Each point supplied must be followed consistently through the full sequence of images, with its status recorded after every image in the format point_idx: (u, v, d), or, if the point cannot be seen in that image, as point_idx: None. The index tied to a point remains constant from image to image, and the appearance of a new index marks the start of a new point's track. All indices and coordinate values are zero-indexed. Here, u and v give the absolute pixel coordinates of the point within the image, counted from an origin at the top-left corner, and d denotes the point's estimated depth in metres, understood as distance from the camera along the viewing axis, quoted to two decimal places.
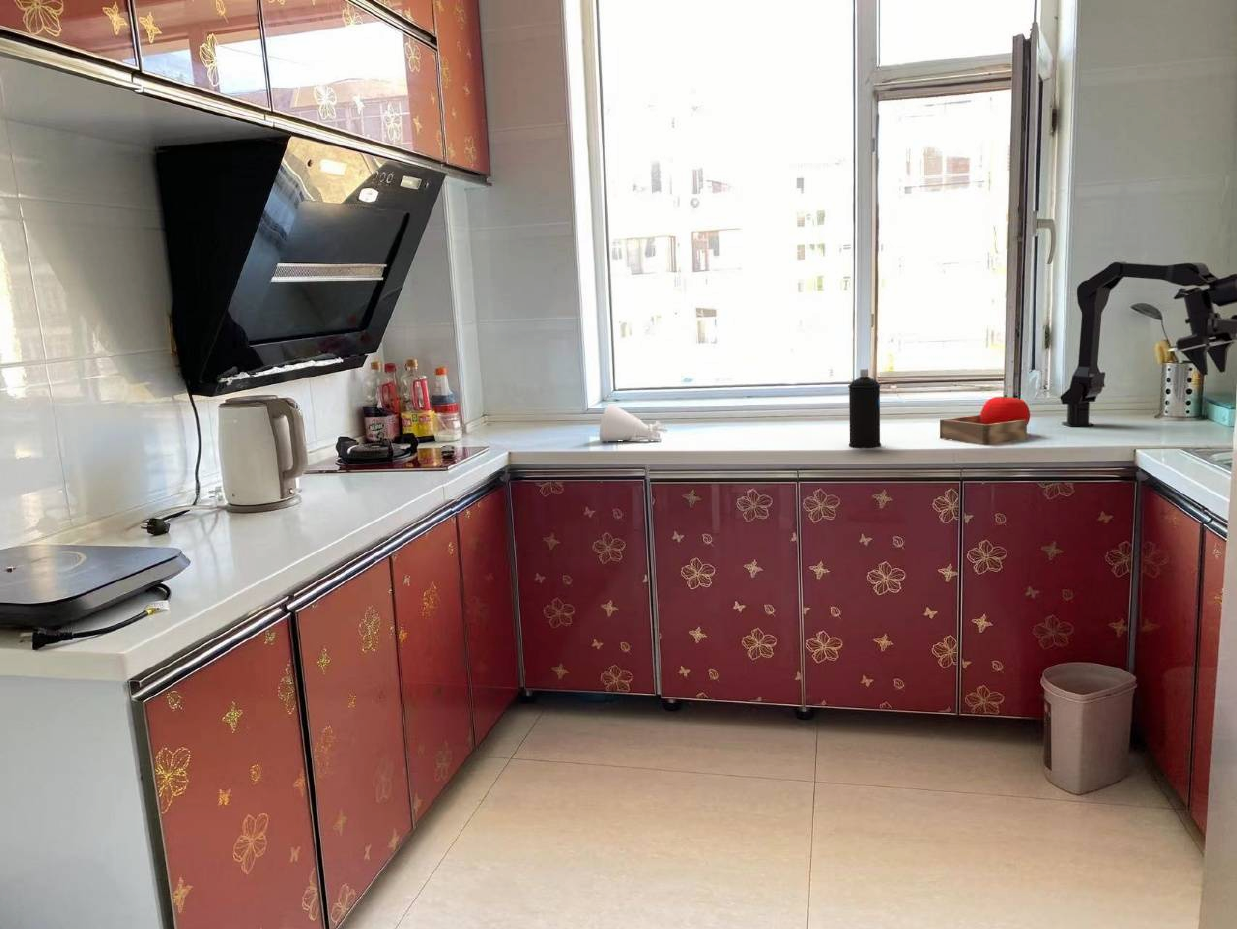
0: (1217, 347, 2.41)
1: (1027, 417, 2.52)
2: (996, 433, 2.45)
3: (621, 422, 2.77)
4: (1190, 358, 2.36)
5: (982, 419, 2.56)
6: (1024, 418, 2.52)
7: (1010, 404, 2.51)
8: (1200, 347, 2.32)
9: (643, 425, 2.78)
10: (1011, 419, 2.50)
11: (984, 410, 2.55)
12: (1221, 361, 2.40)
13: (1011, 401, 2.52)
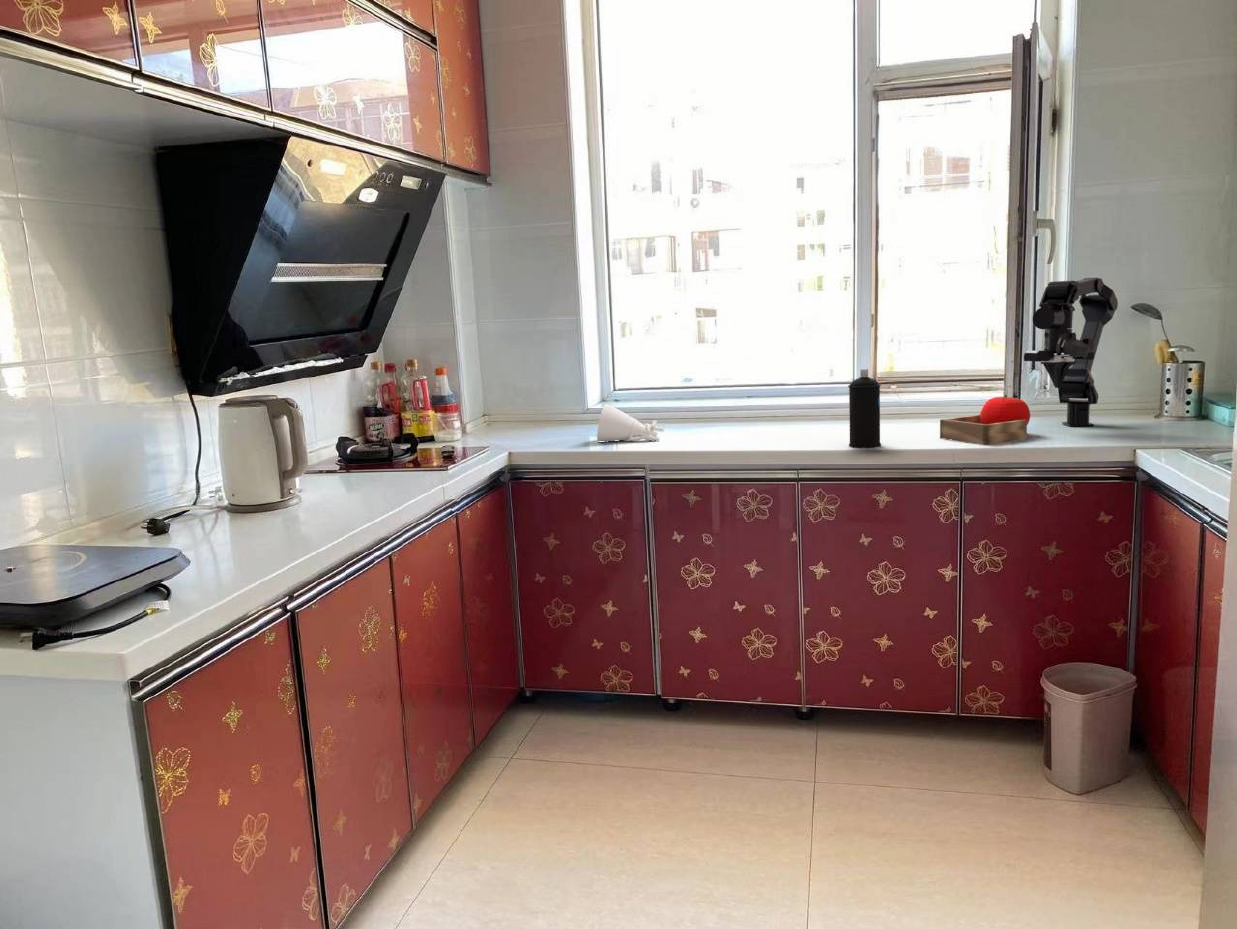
0: None
1: (1027, 417, 2.52)
2: (996, 433, 2.45)
3: (619, 422, 2.78)
4: (1047, 370, 2.58)
5: (982, 419, 2.56)
6: (1024, 418, 2.52)
7: (1010, 404, 2.51)
8: (1053, 363, 2.54)
9: (640, 425, 2.79)
10: (1011, 419, 2.50)
11: (984, 410, 2.55)
12: None
13: (1011, 401, 2.52)
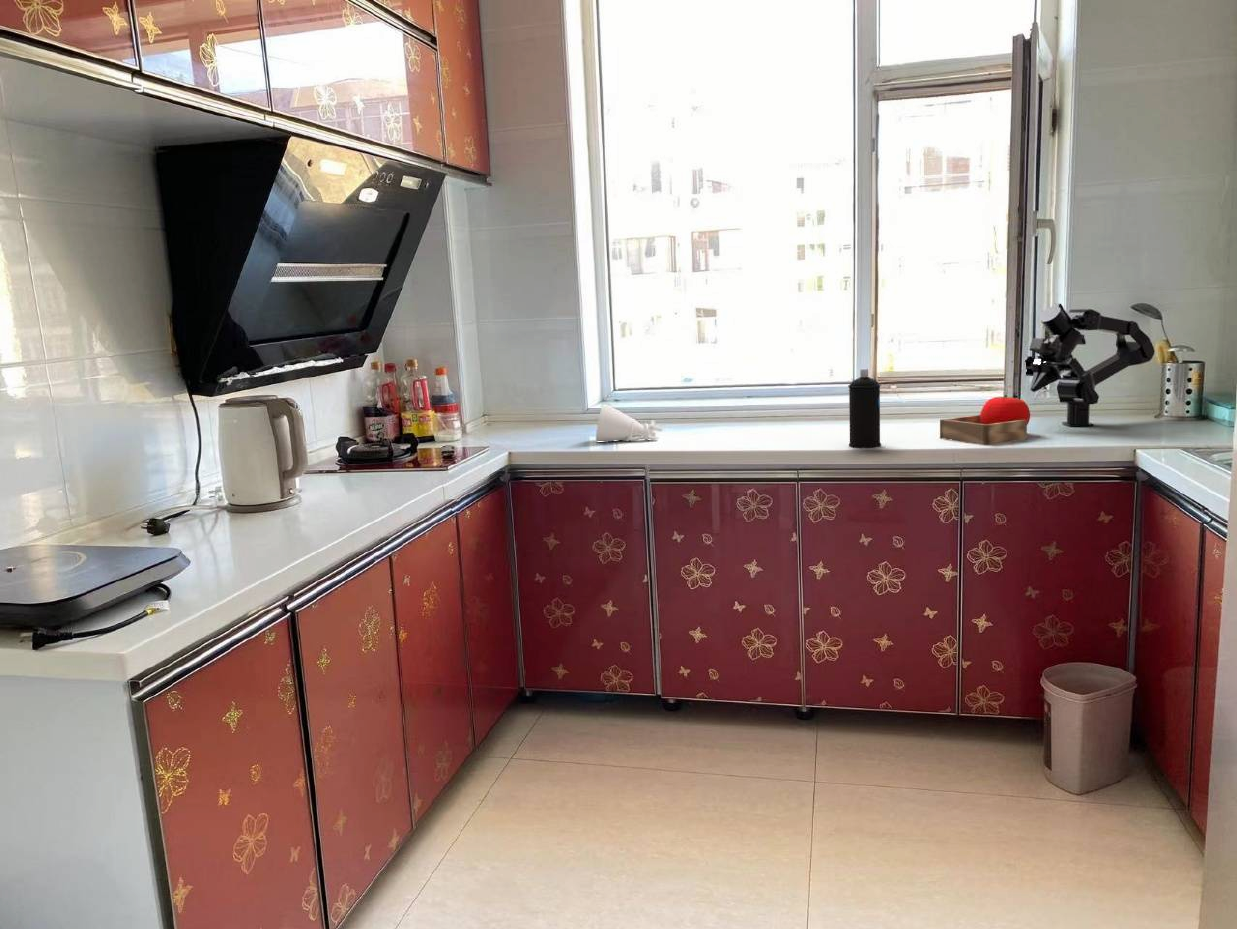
0: None
1: (1027, 417, 2.52)
2: (996, 433, 2.45)
3: (618, 422, 2.78)
4: None
5: (982, 419, 2.56)
6: (1024, 418, 2.52)
7: (1010, 404, 2.51)
8: None
9: (639, 425, 2.80)
10: (1011, 419, 2.50)
11: (984, 410, 2.55)
12: None
13: (1011, 401, 2.52)
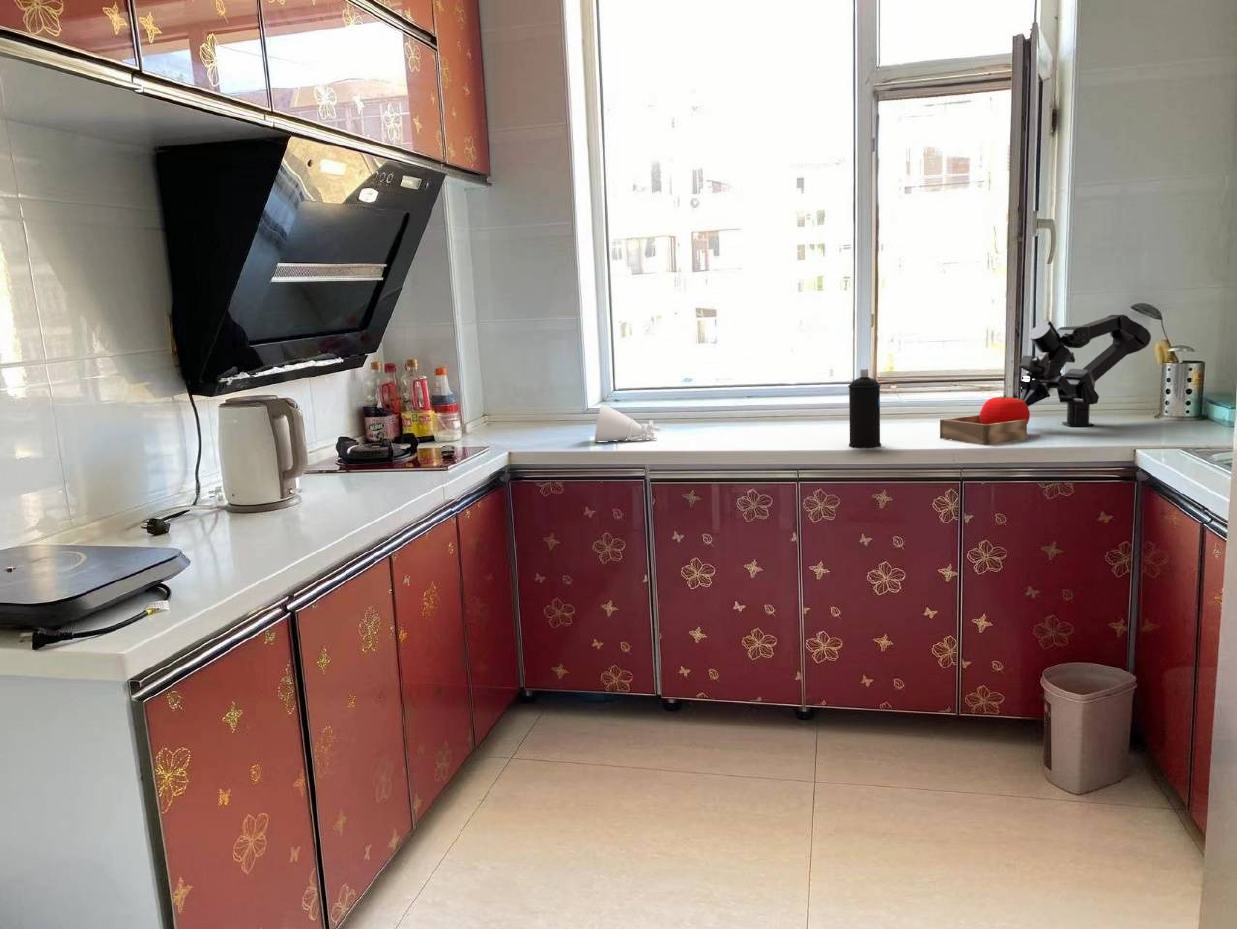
0: None
1: (1027, 417, 2.52)
2: (996, 433, 2.45)
3: (617, 422, 2.78)
4: None
5: (982, 420, 2.56)
6: (1024, 418, 2.52)
7: (1010, 404, 2.51)
8: None
9: (637, 425, 2.80)
10: (1011, 419, 2.50)
11: (983, 411, 2.55)
12: None
13: (1010, 401, 2.51)
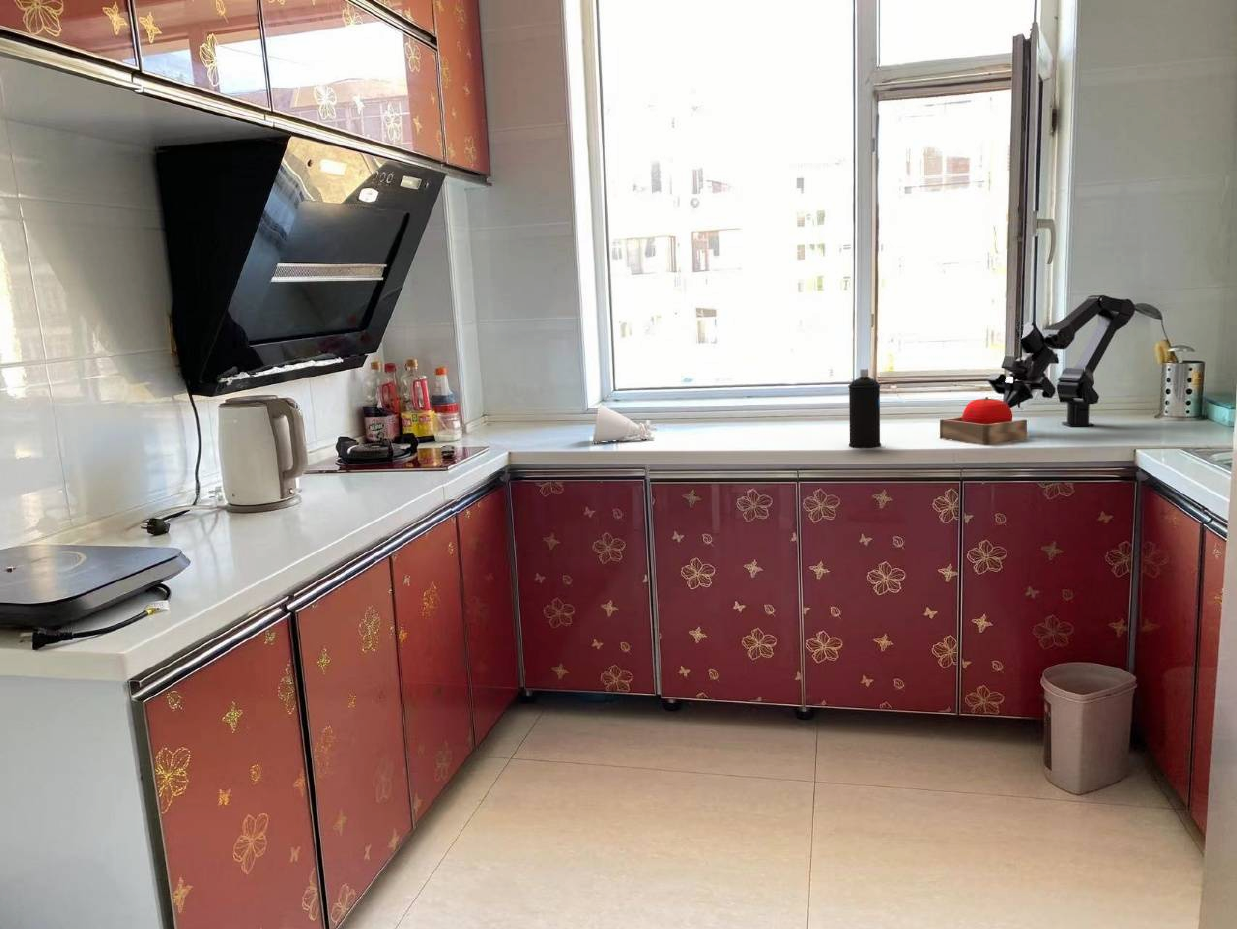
0: None
1: (1009, 419, 2.50)
2: (996, 433, 2.45)
3: (615, 422, 2.78)
4: None
5: None
6: (1006, 420, 2.49)
7: (991, 406, 2.48)
8: None
9: (635, 425, 2.81)
10: (993, 422, 2.48)
11: (965, 414, 2.53)
12: None
13: (992, 404, 2.49)
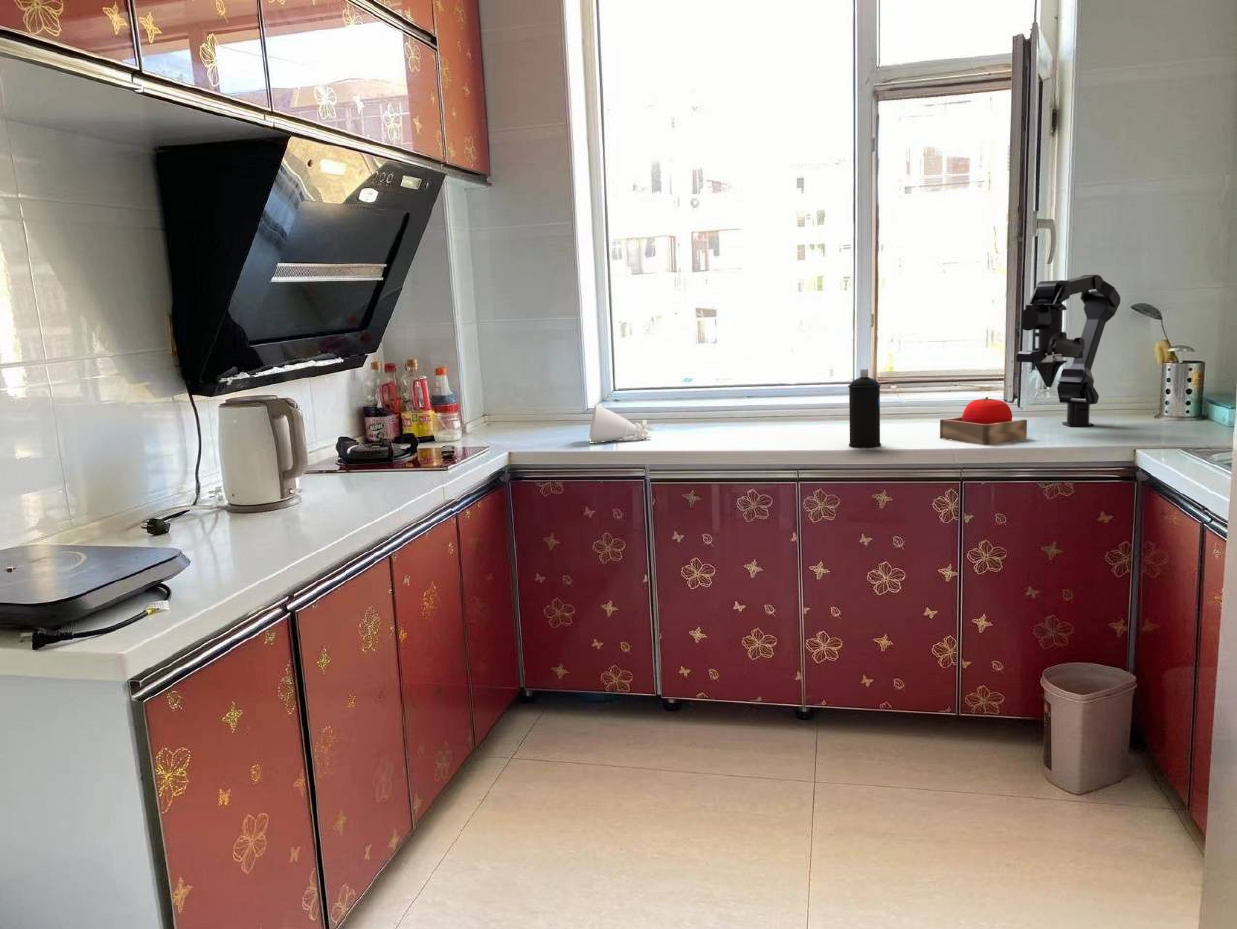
0: None
1: (1009, 419, 2.50)
2: (996, 433, 2.45)
3: (613, 422, 2.78)
4: (1038, 369, 2.58)
5: None
6: (1006, 420, 2.49)
7: (991, 406, 2.48)
8: (1045, 363, 2.54)
9: (632, 424, 2.82)
10: (993, 422, 2.48)
11: (965, 414, 2.53)
12: None
13: (992, 404, 2.49)
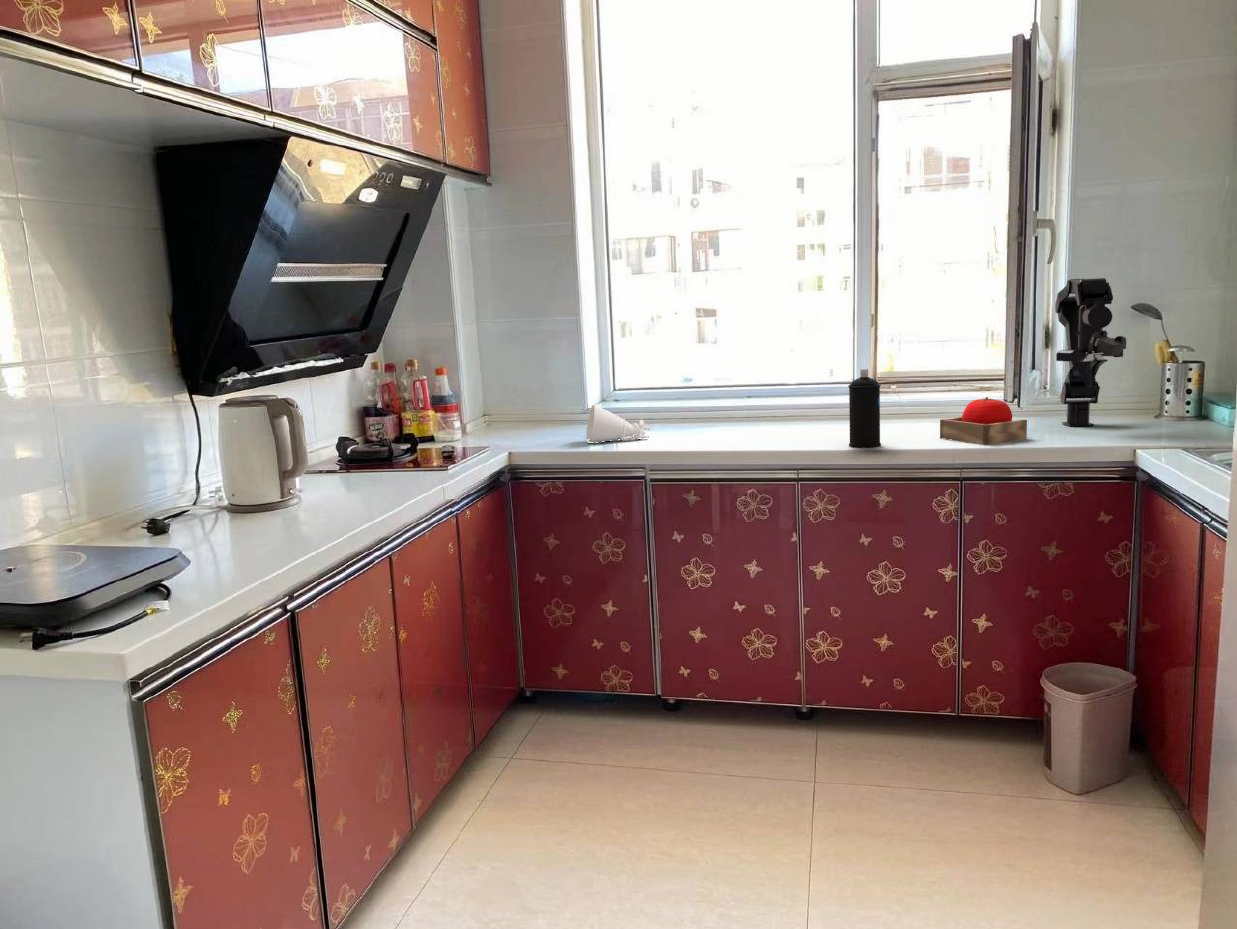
0: None
1: (1009, 419, 2.50)
2: (996, 433, 2.45)
3: (611, 422, 2.78)
4: (1078, 368, 2.55)
5: None
6: (1006, 420, 2.49)
7: (991, 406, 2.48)
8: (1085, 362, 2.51)
9: (629, 424, 2.82)
10: (993, 422, 2.48)
11: (965, 414, 2.53)
12: None
13: (992, 404, 2.49)
